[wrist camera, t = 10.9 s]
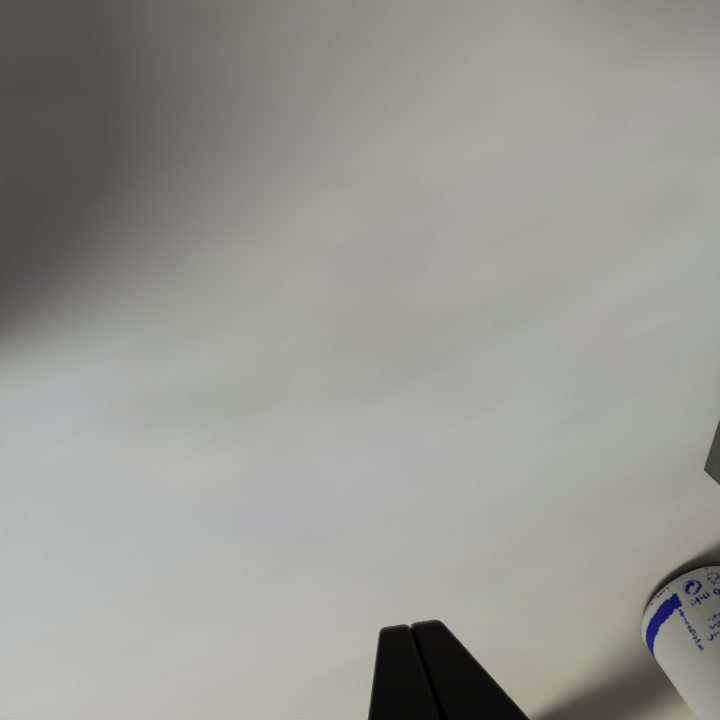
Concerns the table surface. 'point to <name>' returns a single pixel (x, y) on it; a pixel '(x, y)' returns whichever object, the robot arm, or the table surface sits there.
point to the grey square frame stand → (714, 458)
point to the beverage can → (688, 638)
